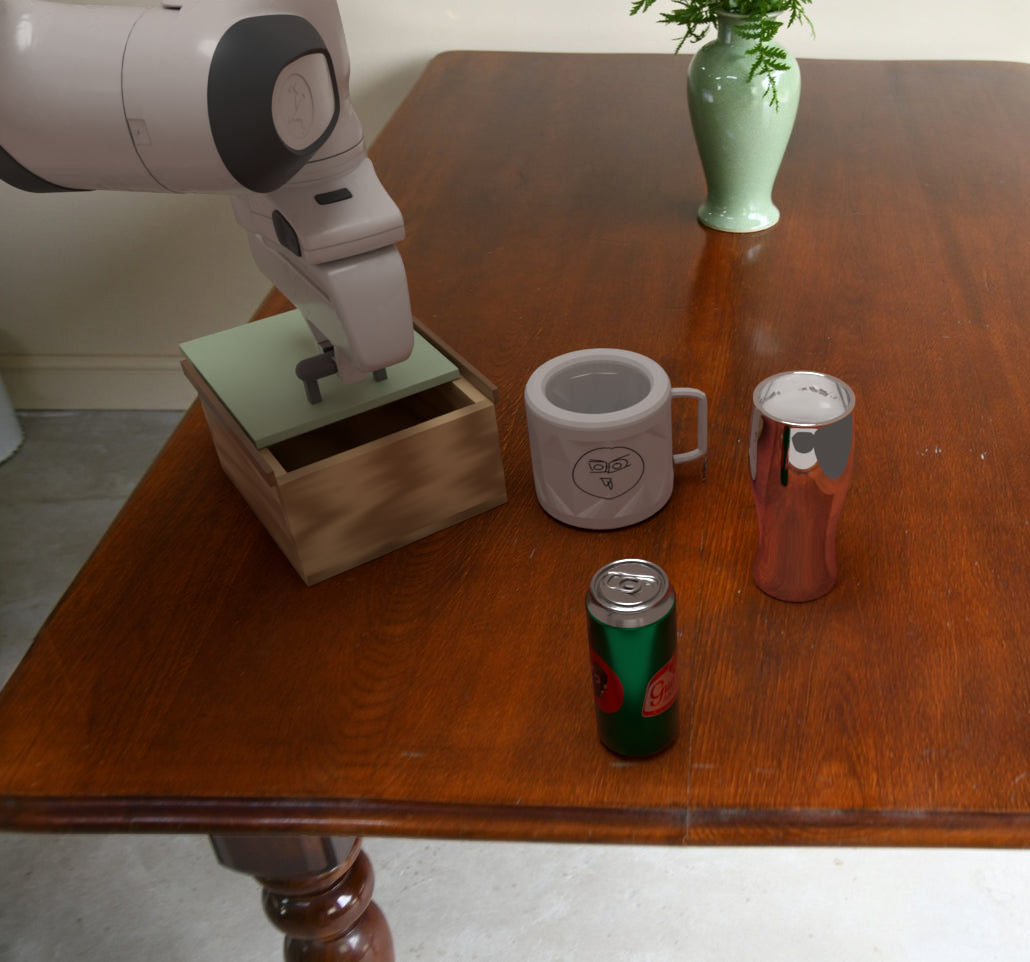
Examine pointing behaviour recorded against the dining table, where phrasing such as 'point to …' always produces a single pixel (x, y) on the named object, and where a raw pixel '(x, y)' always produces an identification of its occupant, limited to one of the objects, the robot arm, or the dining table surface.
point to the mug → (605, 436)
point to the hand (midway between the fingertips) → (343, 370)
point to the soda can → (633, 656)
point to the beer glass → (799, 479)
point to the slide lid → (299, 378)
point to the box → (369, 471)
